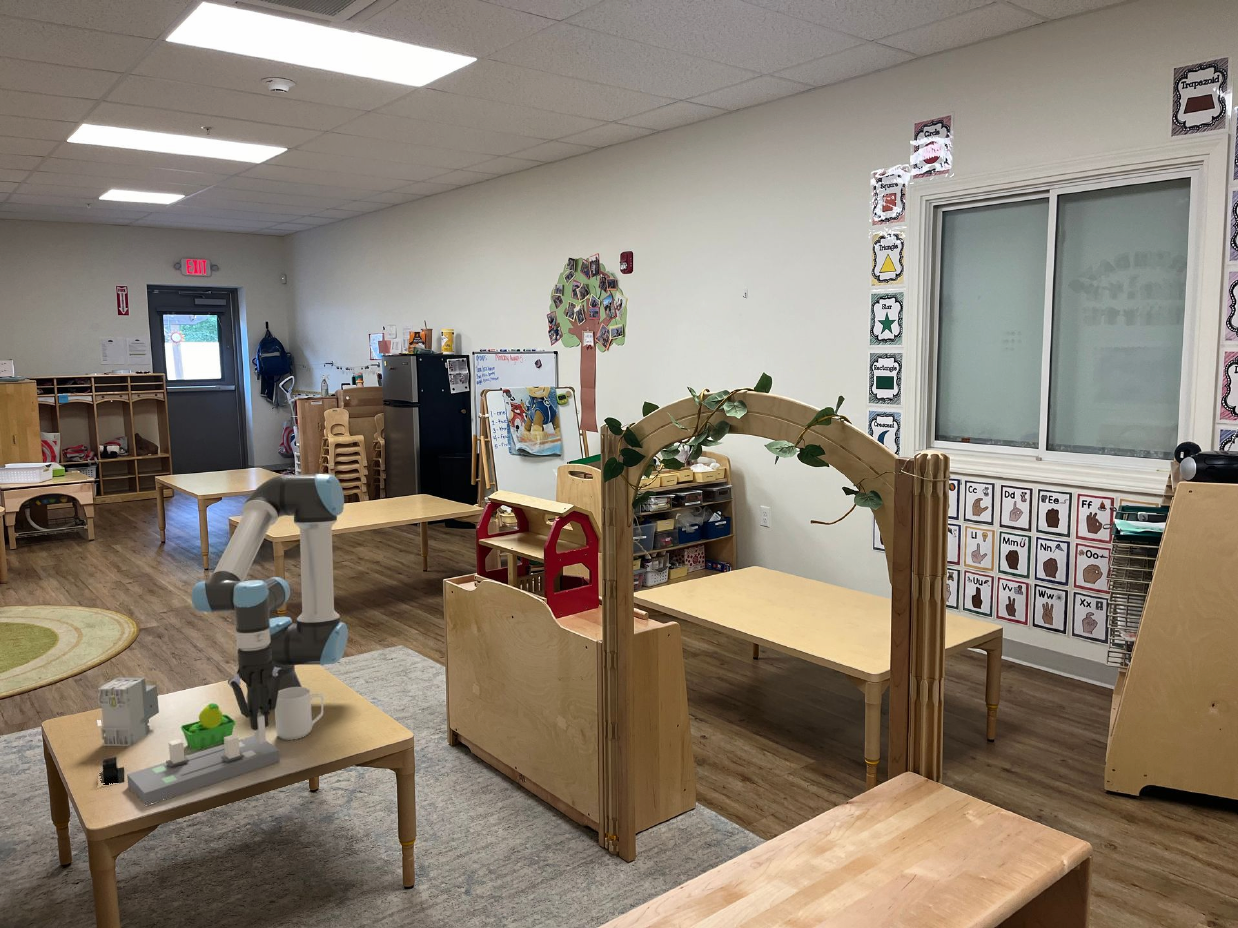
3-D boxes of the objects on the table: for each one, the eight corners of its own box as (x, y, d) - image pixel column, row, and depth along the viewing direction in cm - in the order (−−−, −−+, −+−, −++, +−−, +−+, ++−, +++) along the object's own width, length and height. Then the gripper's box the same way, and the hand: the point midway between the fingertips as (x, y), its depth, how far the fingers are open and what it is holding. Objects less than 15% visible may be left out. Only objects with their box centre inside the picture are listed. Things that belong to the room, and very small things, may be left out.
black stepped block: (94, 772, 214) (93, 754, 214) (129, 765, 218) (127, 747, 217) (93, 793, 203) (91, 774, 203) (129, 786, 207) (127, 767, 206)
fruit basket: (227, 731, 235) (223, 690, 234) (239, 741, 229) (236, 699, 227) (181, 745, 228) (177, 702, 226) (192, 755, 221) (189, 712, 220)
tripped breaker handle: (238, 752, 214) (237, 732, 214) (243, 756, 212) (242, 736, 211) (221, 758, 211) (219, 737, 211) (226, 762, 209) (224, 741, 209)
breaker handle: (184, 757, 212) (182, 737, 212) (188, 761, 210) (187, 741, 209) (166, 762, 210) (164, 742, 209) (170, 767, 207) (168, 746, 207)
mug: (276, 743, 227) (274, 701, 226) (276, 730, 235) (273, 689, 234) (326, 735, 231) (323, 694, 230) (323, 722, 240) (321, 682, 238)
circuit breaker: (163, 723, 242) (159, 669, 240) (130, 745, 228) (125, 689, 226) (137, 722, 242) (133, 669, 241) (102, 745, 228) (97, 688, 227)
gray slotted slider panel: (258, 745, 226) (257, 733, 226) (279, 761, 217) (279, 749, 216) (128, 786, 205) (127, 773, 205) (145, 805, 196) (144, 792, 196)
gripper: (232, 655, 206) (239, 753, 209) (287, 643, 215) (293, 737, 218) (220, 649, 212) (227, 744, 214) (274, 636, 221) (280, 728, 223)
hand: (260, 740), depth 216 cm, fingers closed
